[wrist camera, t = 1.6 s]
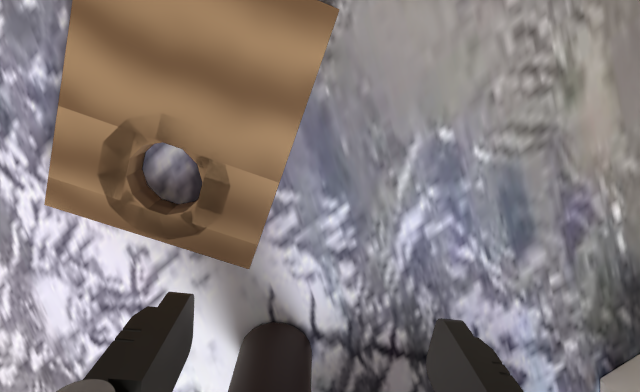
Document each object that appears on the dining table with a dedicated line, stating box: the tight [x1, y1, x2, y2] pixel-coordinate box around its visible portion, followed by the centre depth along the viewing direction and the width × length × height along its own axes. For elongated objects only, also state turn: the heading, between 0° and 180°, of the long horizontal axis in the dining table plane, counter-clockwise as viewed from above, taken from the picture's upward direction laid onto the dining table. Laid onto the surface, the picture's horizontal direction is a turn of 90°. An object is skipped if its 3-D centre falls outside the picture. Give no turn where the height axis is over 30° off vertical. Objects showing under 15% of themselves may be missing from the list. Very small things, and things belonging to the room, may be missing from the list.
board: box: [44, 0, 339, 269], centre depth 26 cm, size 20×16×2 cm
